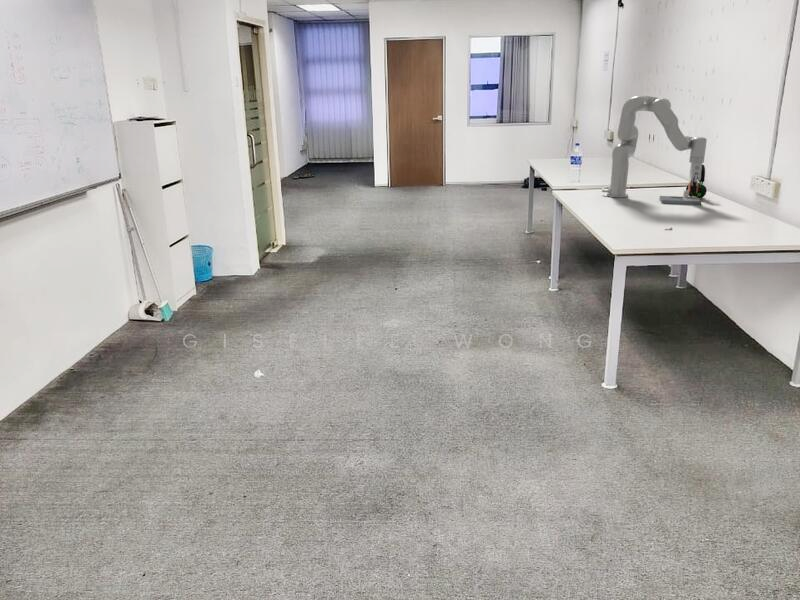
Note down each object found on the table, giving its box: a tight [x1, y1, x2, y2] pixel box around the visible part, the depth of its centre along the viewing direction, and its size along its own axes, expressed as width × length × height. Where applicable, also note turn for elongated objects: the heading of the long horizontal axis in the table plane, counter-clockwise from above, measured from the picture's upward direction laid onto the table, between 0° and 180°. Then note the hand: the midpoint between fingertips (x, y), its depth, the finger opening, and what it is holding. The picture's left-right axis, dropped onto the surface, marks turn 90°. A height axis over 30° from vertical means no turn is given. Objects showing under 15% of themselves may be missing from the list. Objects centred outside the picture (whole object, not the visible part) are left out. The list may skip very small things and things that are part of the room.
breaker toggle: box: [682, 189, 690, 197], centre depth 372 cm, size 2×4×4 cm, turn 163°
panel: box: [659, 195, 702, 206], centre depth 371 cm, size 21×15×3 cm
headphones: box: [685, 163, 708, 199], centre depth 381 cm, size 9×16×20 cm, turn 173°
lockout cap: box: [688, 180, 699, 193], centre depth 364 cm, size 4×4×6 cm
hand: (692, 191), depth 365 cm, fingers closed on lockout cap, 4 cm apart
